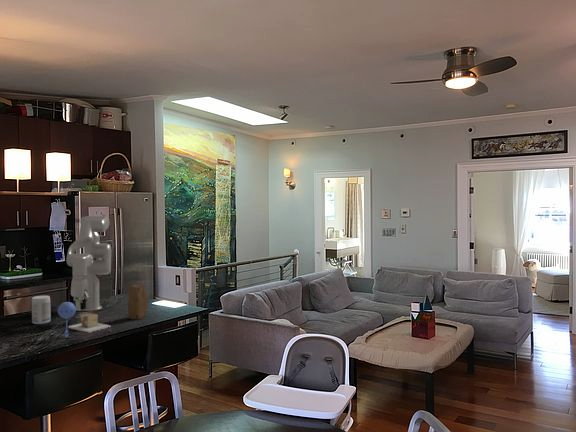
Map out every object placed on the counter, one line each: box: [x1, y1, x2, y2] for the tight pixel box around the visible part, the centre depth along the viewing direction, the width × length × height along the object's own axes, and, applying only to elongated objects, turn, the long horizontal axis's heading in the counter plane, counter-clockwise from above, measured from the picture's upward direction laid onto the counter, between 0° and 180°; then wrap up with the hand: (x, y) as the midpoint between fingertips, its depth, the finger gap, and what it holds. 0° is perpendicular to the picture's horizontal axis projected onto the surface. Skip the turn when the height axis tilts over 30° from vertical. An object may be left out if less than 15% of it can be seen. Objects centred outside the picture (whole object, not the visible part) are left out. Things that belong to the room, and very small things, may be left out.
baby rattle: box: [57, 301, 77, 338], centre depth 251 cm, size 9×9×18 cm
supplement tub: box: [31, 295, 52, 325], centre depth 279 cm, size 10×10×15 cm
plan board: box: [67, 322, 112, 334], centre depth 269 cm, size 18×14×1 cm
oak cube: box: [80, 313, 99, 328], centre depth 269 cm, size 6×6×6 cm
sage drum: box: [75, 298, 84, 312], centre depth 281 cm, size 5×5×6 cm
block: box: [127, 283, 148, 320], centre depth 292 cm, size 11×8×20 cm
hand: (80, 308), depth 281 cm, fingers closed on sage drum, 4 cm apart
